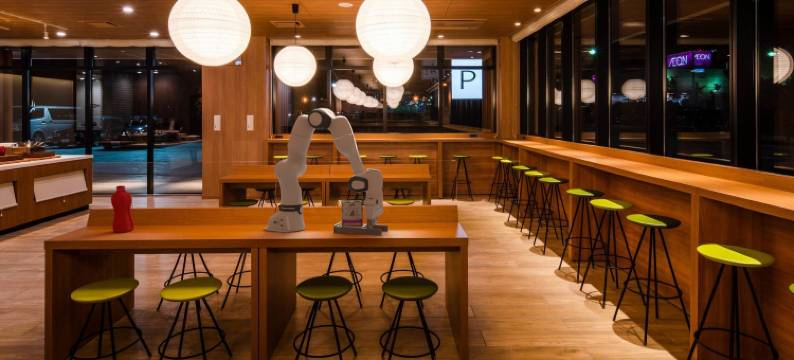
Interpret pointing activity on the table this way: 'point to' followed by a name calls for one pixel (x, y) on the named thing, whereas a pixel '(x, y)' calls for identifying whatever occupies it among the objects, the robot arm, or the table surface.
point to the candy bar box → (352, 213)
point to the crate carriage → (368, 226)
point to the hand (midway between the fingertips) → (374, 224)
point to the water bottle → (122, 210)
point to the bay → (361, 229)
